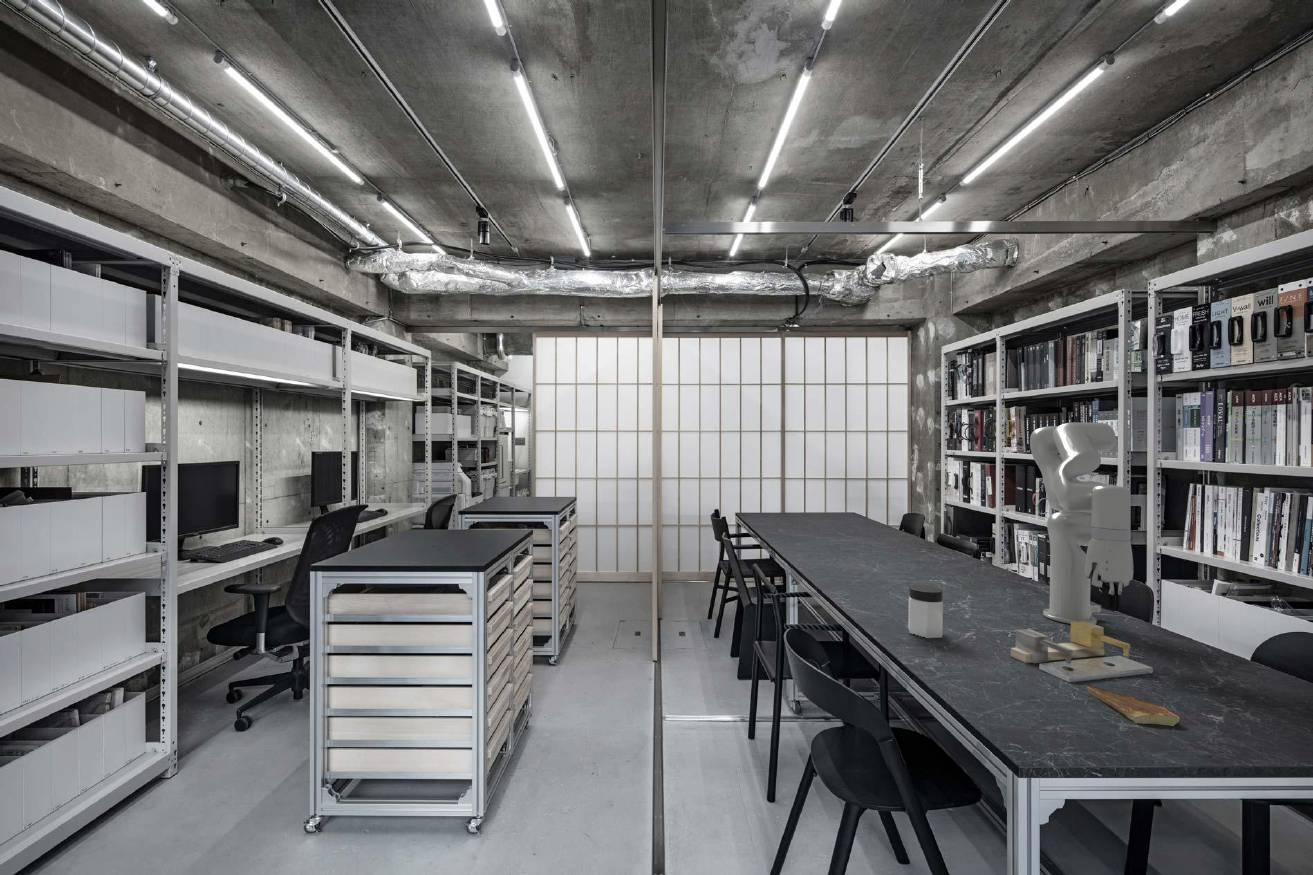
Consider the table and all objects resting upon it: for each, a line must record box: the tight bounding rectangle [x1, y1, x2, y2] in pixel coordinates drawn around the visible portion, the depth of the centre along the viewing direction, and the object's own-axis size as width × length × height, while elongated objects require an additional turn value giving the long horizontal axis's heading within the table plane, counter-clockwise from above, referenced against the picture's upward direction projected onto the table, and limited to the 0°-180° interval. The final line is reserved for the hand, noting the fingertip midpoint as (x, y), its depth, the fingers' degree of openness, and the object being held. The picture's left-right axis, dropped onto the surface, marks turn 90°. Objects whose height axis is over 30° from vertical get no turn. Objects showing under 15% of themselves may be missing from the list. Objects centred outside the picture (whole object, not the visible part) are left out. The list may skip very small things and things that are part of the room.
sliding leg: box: [1070, 621, 1131, 659], centre depth 132 cm, size 4×12×5 cm, turn 14°
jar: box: [907, 584, 944, 639], centre depth 148 cm, size 9×8×12 cm
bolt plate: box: [1038, 655, 1154, 683], centre depth 125 cm, size 24×7×1 cm, turn 104°
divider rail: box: [1010, 628, 1105, 664], centre depth 130 cm, size 24×12×6 cm, turn 104°
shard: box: [1085, 684, 1181, 727], centre depth 107 cm, size 13×9×2 cm
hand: (1110, 609), depth 137 cm, fingers closed
